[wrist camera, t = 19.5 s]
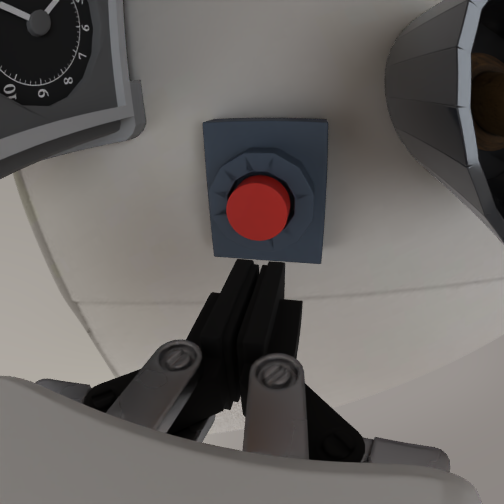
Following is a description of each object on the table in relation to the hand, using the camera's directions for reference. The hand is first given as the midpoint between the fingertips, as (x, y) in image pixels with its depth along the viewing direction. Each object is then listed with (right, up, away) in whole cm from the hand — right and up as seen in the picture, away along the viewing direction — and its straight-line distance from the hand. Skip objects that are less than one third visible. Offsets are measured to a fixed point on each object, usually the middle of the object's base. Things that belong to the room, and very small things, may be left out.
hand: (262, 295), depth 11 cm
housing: (+1, +6, +11) cm, 13 cm away
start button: (0, +5, +8) cm, 9 cm away
